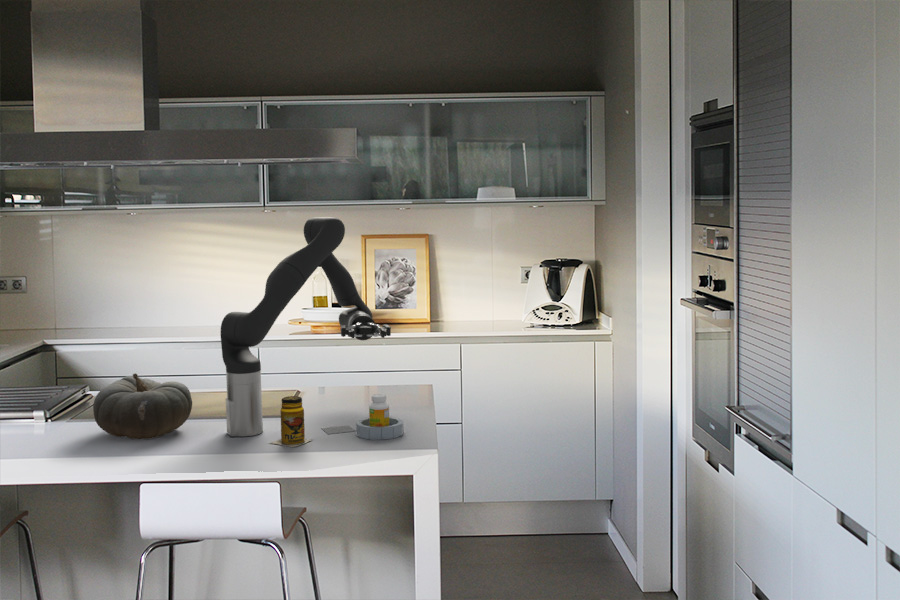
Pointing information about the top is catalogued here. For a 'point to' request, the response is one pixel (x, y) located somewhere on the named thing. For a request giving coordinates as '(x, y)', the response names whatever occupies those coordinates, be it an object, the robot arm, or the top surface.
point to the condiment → (292, 422)
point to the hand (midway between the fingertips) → (368, 334)
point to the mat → (338, 429)
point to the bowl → (380, 429)
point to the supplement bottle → (379, 411)
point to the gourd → (142, 407)
